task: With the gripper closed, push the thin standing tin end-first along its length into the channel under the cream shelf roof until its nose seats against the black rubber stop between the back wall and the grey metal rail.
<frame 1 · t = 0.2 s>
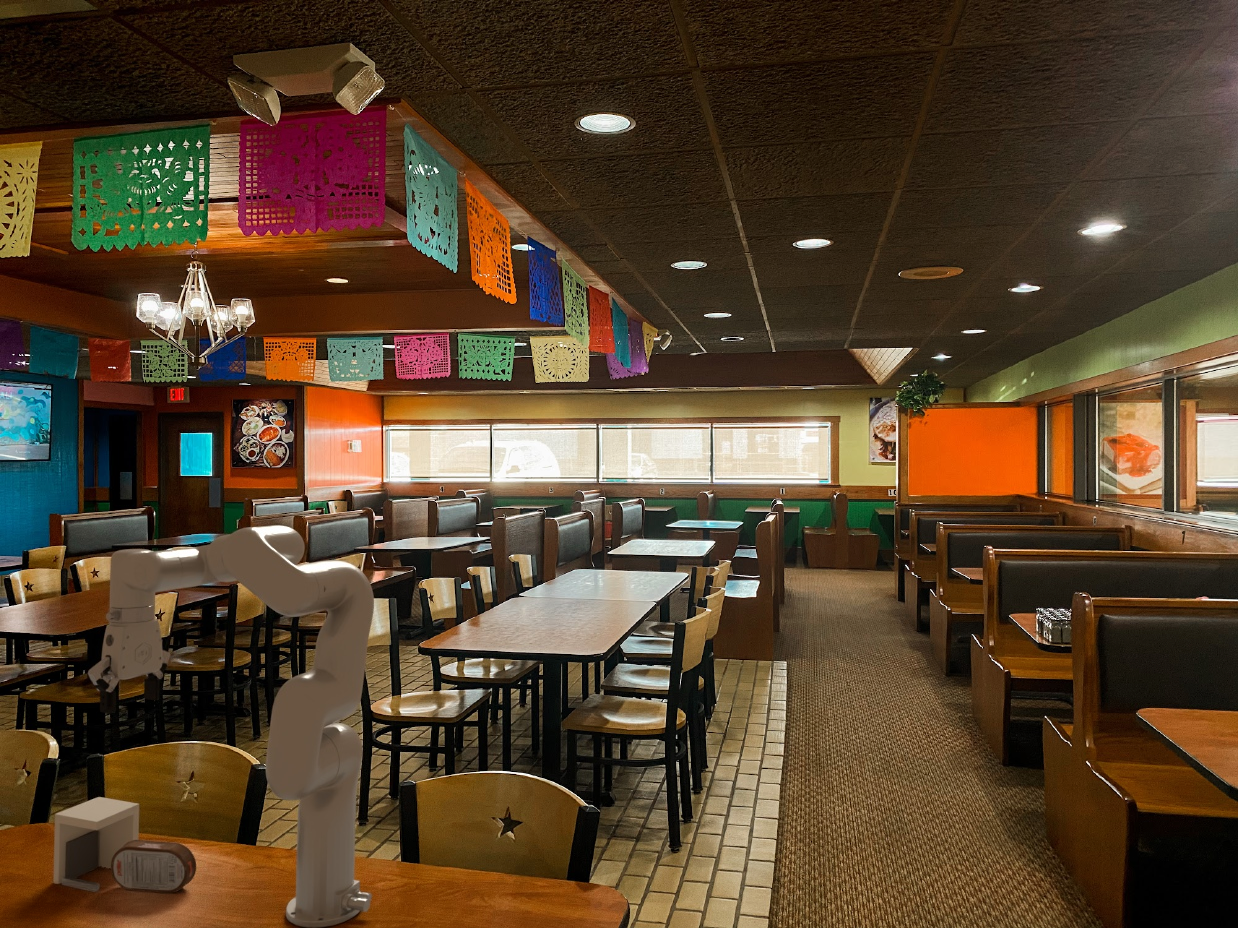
hand: (130, 705, 164), 31 cm above the table, tool pointing down, fingers open, 9 cm apart
shelf: (95, 876, 160), on the table
tin: (152, 890, 156), on the table
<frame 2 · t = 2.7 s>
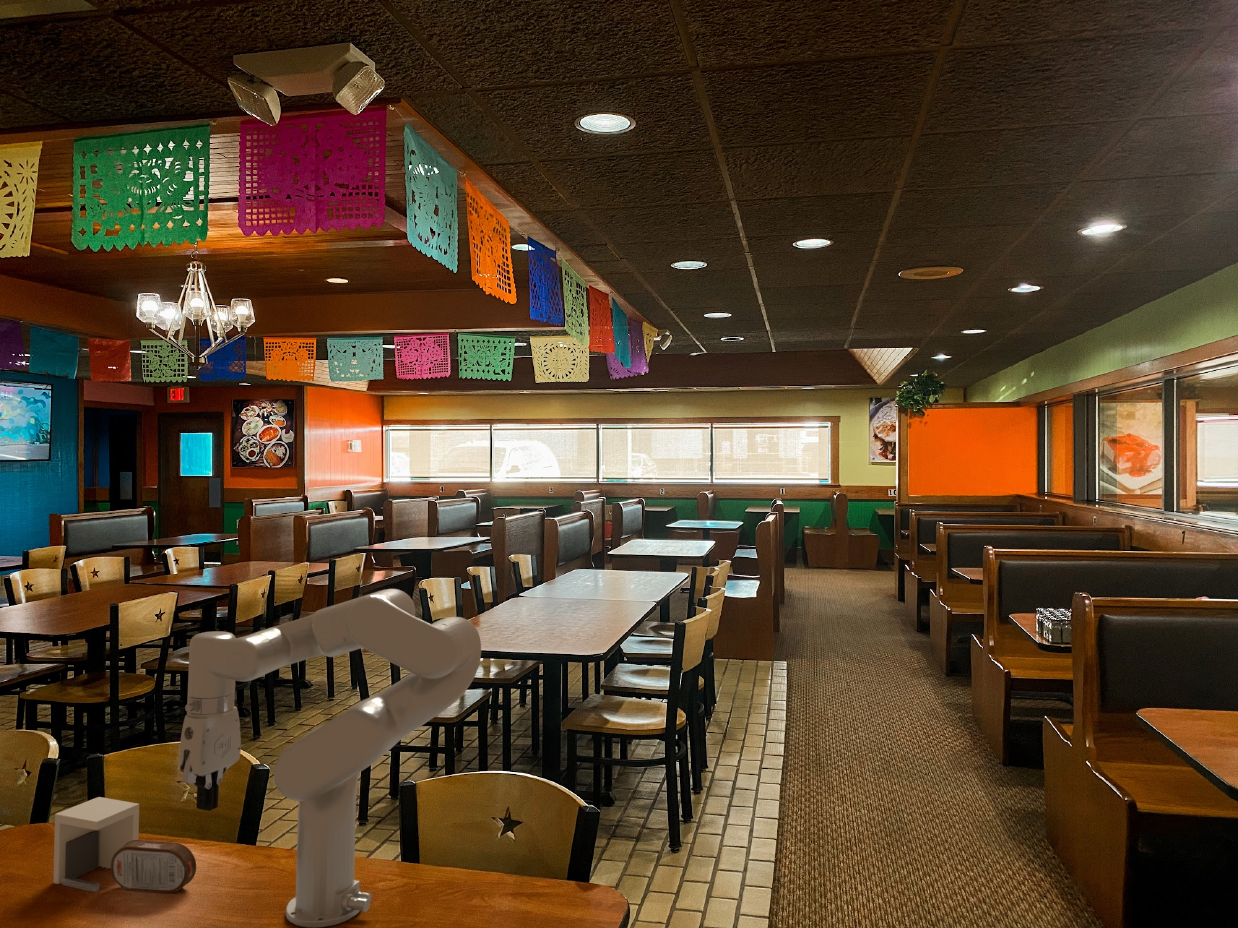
hand: (207, 807, 152), 16 cm above the table, tool pointing down, fingers closed
nothing on the table moved.
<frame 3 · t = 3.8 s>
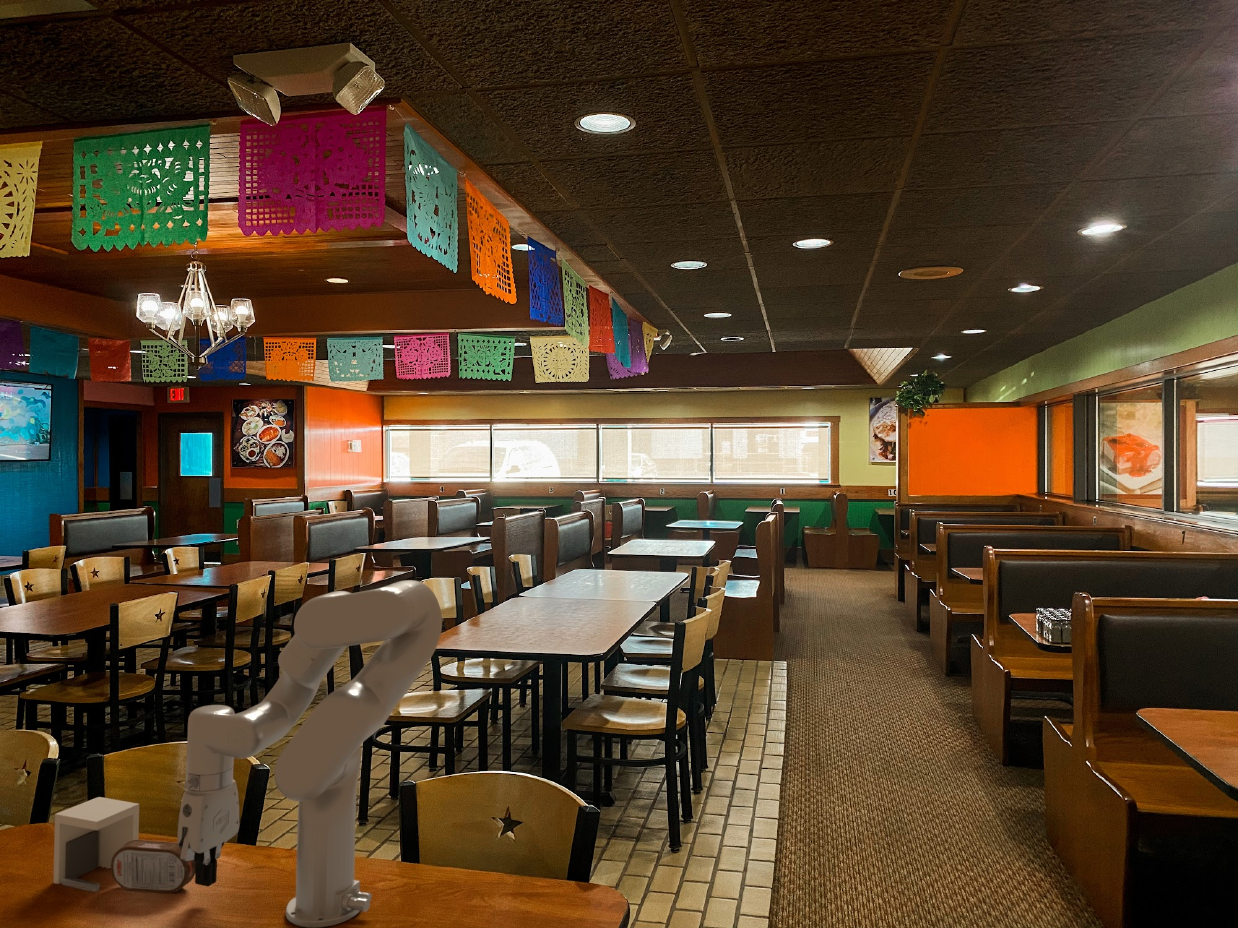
hand: (205, 882, 152), 3 cm above the table, tool pointing down, fingers closed
nothing on the table moved.
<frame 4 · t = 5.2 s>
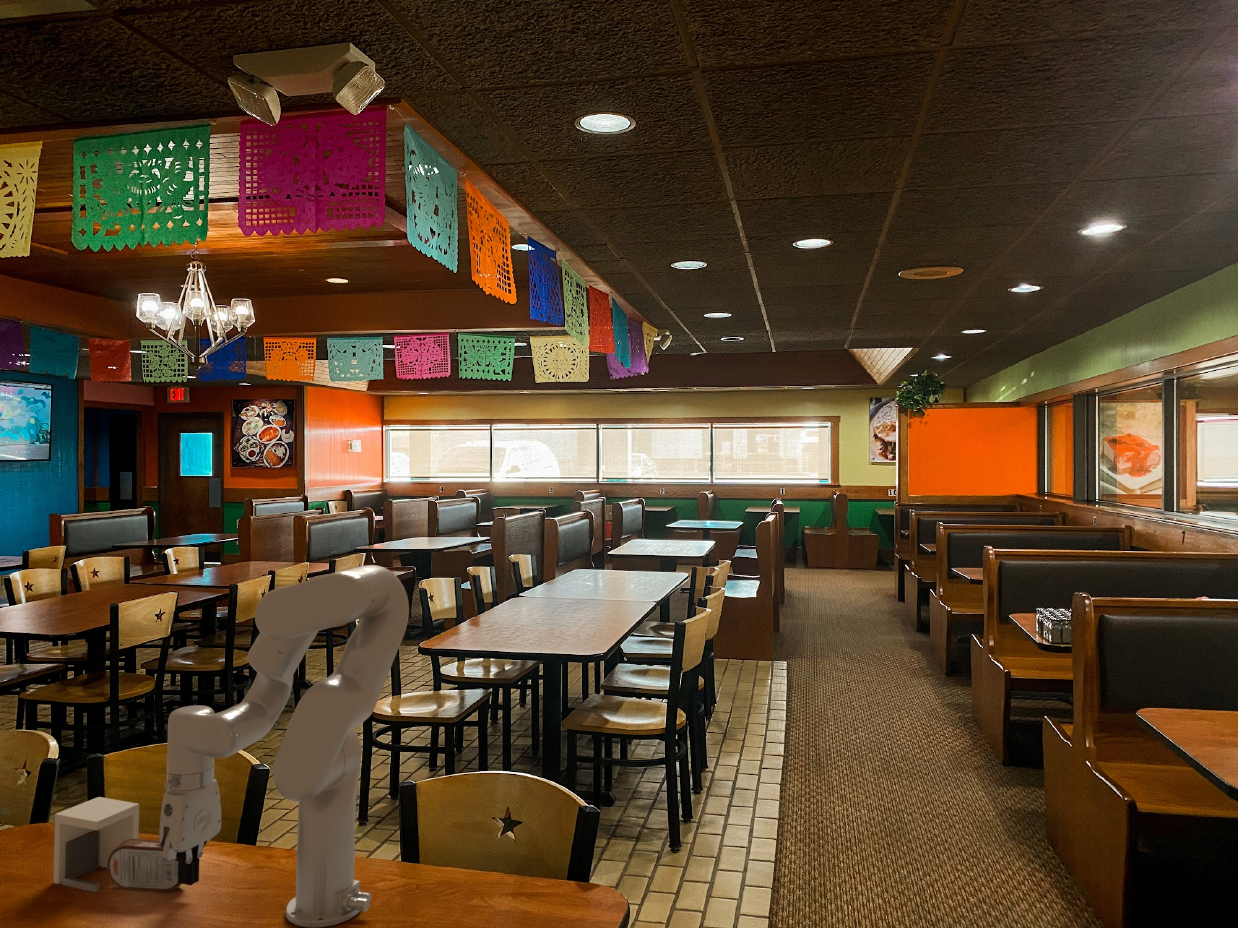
hand: (188, 881, 154), 3 cm above the table, tool pointing down, fingers closed
tin: (148, 889, 156), on the table, touching gripper
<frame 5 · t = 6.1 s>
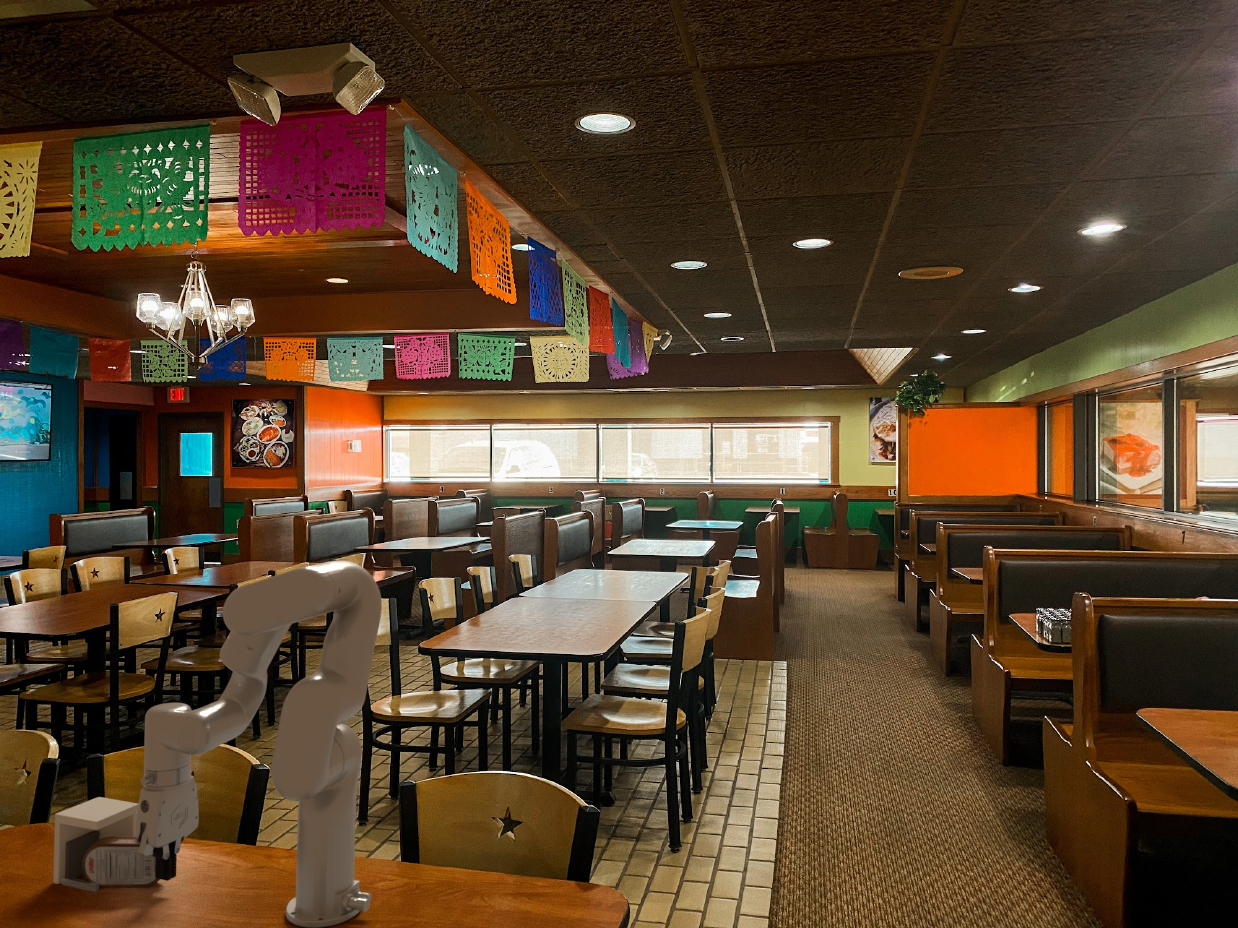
hand: (165, 877, 155), 3 cm above the table, tool pointing down, fingers closed
tin: (126, 885, 158), on the table, touching gripper
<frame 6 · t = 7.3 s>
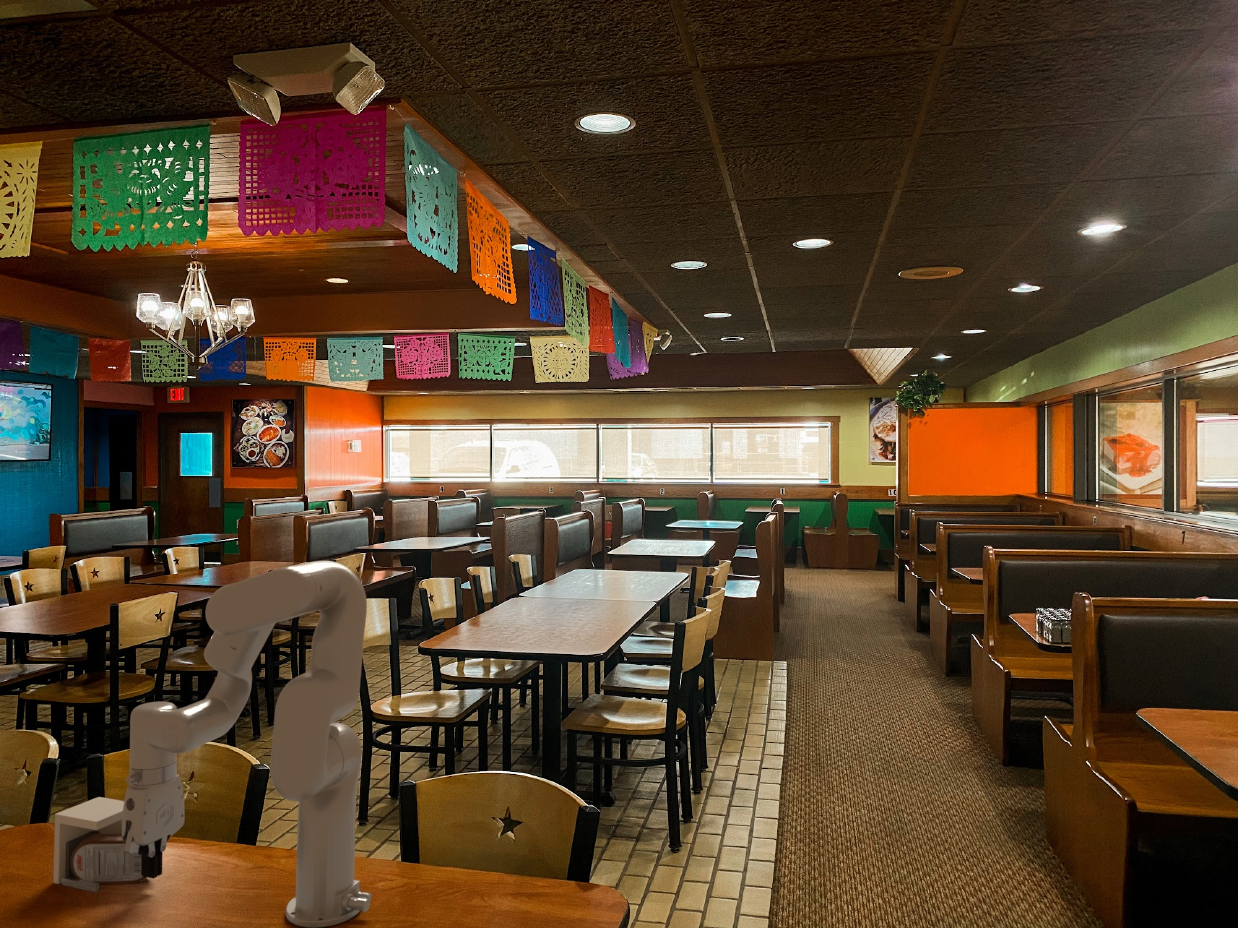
hand: (151, 875, 156), 2 cm above the table, tool pointing down, fingers closed
tin: (114, 882, 159), on the table, touching gripper
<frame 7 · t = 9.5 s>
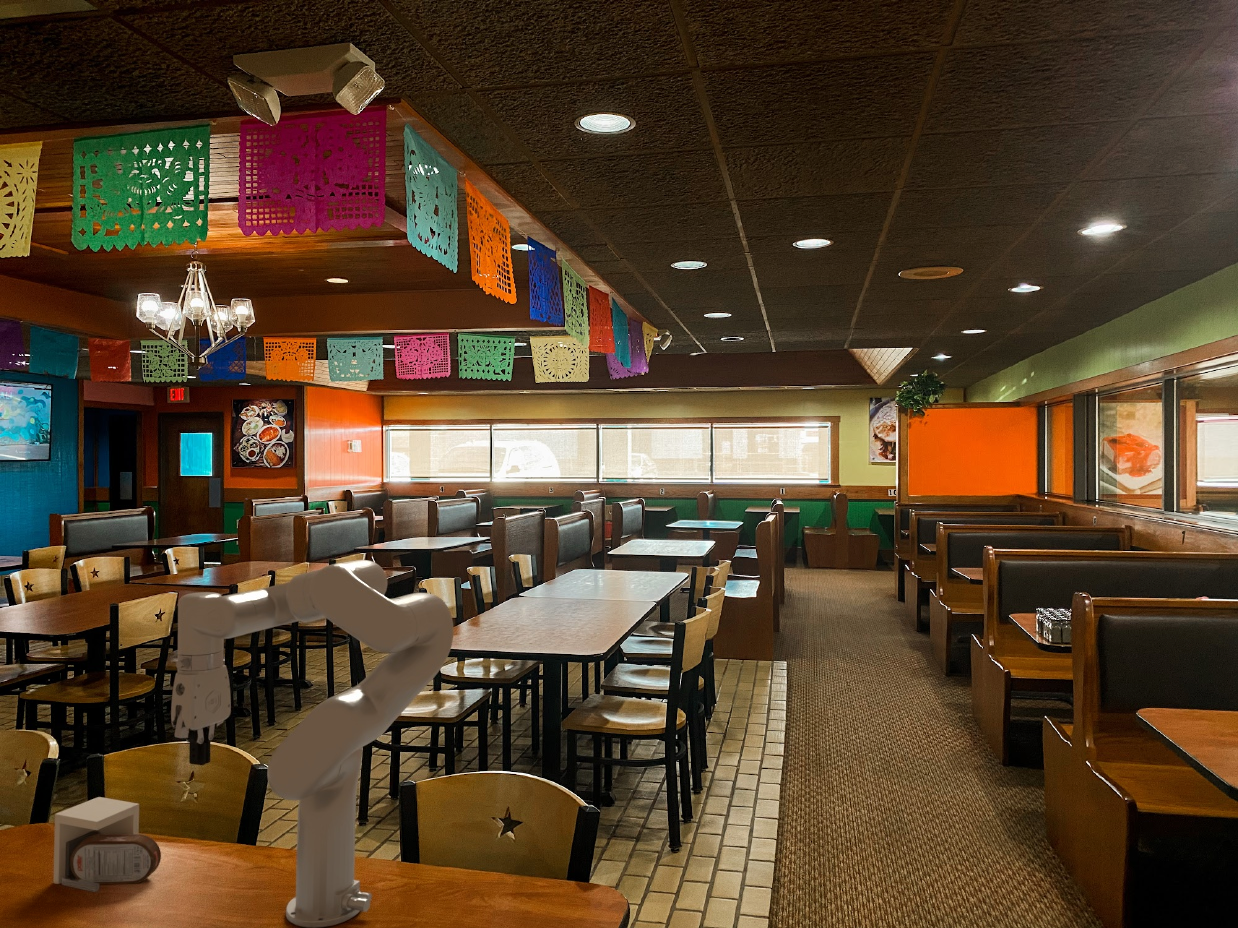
hand: (199, 762, 157), 23 cm above the table, tool pointing down, fingers closed
tin: (114, 883, 159), on the table
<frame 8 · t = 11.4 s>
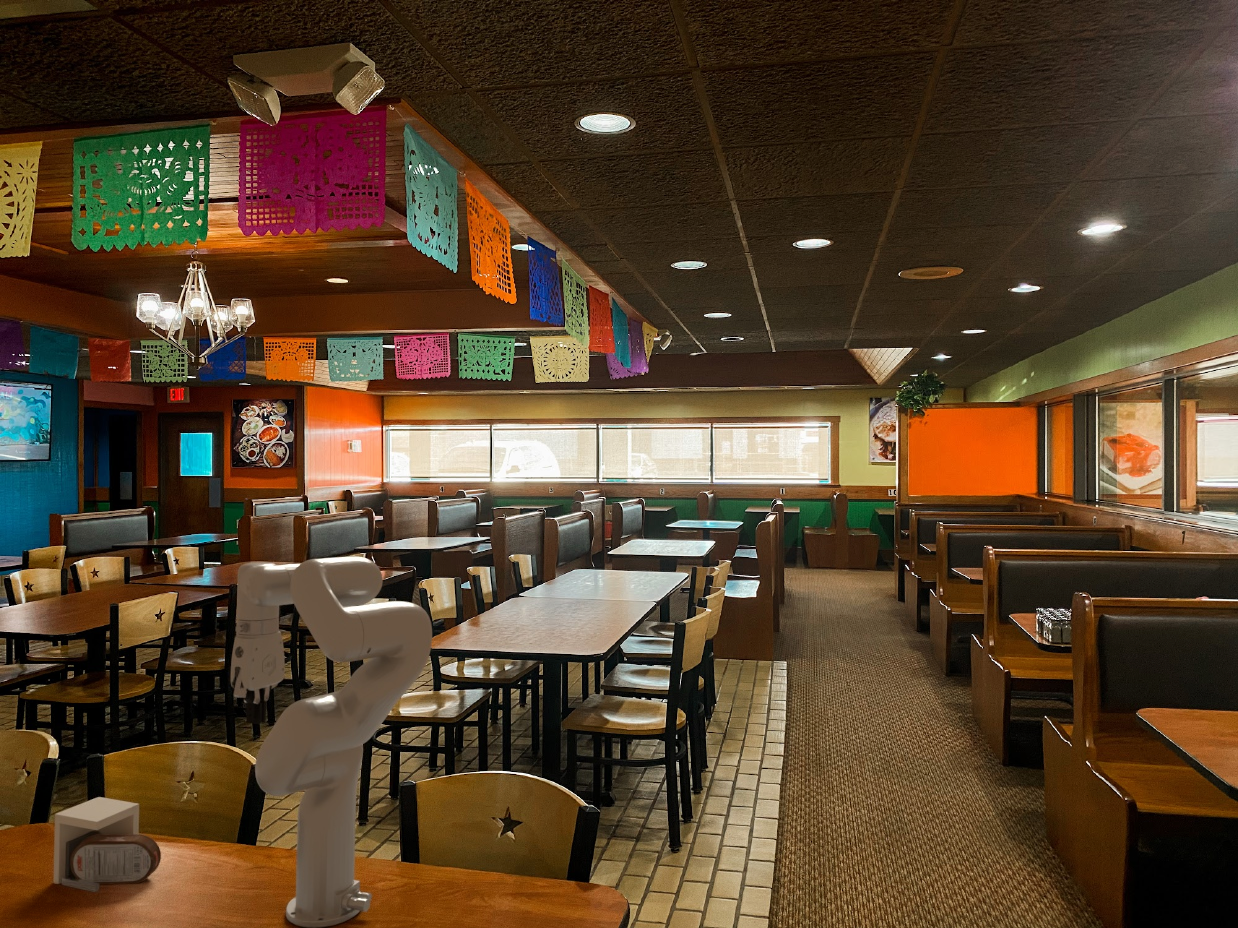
hand: (255, 722, 167), 27 cm above the table, tool pointing down, fingers closed
nothing on the table moved.
at the end: tin 0.3 cm from the target spot on the shelf, point 0.0 cm above the shelf's base; tin tilted 0°; the gripper is holding nothing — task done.
